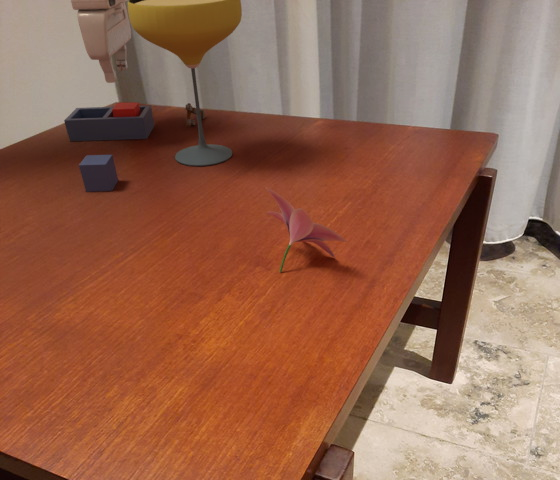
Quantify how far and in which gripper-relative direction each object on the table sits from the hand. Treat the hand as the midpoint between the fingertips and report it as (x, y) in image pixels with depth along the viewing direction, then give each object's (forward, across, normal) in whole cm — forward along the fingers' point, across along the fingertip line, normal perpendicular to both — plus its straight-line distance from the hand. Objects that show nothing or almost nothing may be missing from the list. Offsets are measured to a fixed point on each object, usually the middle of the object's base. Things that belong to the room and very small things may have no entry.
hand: (117, 75), depth 109 cm
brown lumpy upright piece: (+11, -5, +14) cm, 18 cm away
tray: (+11, 0, -3) cm, 11 cm away
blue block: (+11, +28, +2) cm, 30 cm away
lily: (+11, +55, +36) cm, 66 cm away
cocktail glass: (+11, +15, +18) cm, 26 cm away
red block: (+10, 0, 0) cm, 10 cm away
